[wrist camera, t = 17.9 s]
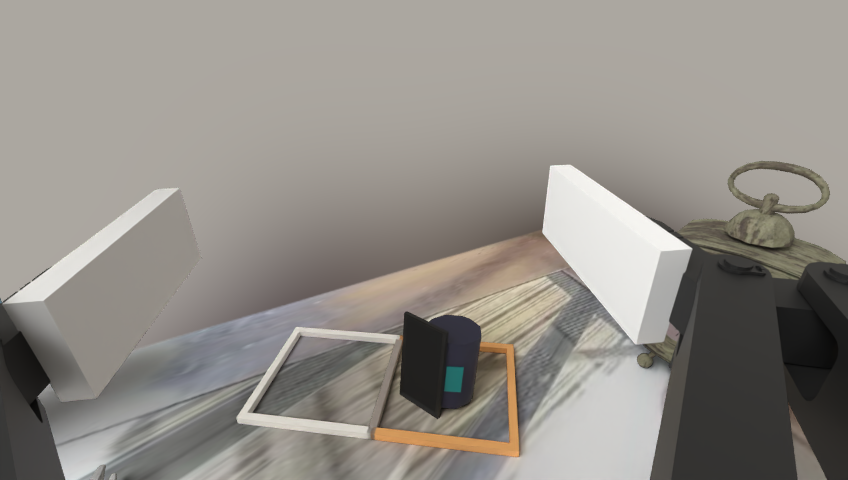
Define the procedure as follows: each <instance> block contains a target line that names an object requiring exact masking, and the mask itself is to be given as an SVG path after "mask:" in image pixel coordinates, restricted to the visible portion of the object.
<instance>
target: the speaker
mask: <svg viewBox="0 0 848 480" xmlns="http://www.w3.org/2000/svg"><path fill="white" fill-rule="evenodd" d="M480 343H481V329H480V326H479V325H477V324H476V323H475V322H473V321H472V320H471V319H469V318H466V317H463V316H454V315H444V316H440V317H437V318H433V319H432V320H431V321H429V322H428V321H426V320H424V319H422V318H420V317H418V316H416V315H413V314H411V313H409V312H405V313H404V329H403V346H402V363H401V380H400V395H402V396H403V397H405V398H406V399H408V400H409V401H411V402H412V403H414V404H416V405H417V406H419V407H420V408H422V409H423V410H425V411H426V412H428V413H429V414H431V415H432V416H434V417H436V418H437V419H438V418H439V417H440V412H441V408H451V409H457V408H459V407H461V406H463V405H466V404H468V403H469V402H470V401H471V399H472V397H473V391H474V384H475V377H476V370H477V363H478V356H479V350H480Z"/></svg>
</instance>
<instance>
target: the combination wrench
mask: <svg viewBox="0 0 848 480" xmlns="http://www.w3.org/2000/svg"><path fill="white" fill-rule="evenodd" d="M105 468H106V465H100V466H99V467H98V468H97V470H96V471H95V472H94V474H93V475H92V477H91V479H90V480H104V474H105ZM109 480H117V474H116V473H113V474H111V476H110V478H109Z"/></svg>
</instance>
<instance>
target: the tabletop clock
mask: <svg viewBox="0 0 848 480" xmlns="http://www.w3.org/2000/svg"><path fill="white" fill-rule="evenodd" d="M753 169H774V170H780V171H785V172H791V173H794V174H798V175H801V176H804V177H806V178H808V179H809V180H811V181H813V182H814V183H815V184H816V185H817V186H818V187H819V188H820V190H821V193H822V198H821V199H820V201H818V202H817V203H816V204H811V205H806V206H787V205H781V204H777V203H778V200H779V197H778V196H777V195H776V194H772V193H771V194H767V195H766V196H764V199H763V201H762V200H758V199H754V198H752V197H750V196H747V195H745V194H743V193H741V192H740V191H739V190H738V189H737V188H735V186H734V180H735V178H736V177H737V176H738V175H739V174H741V173H743V172H746V171H748V170H753ZM728 186H729V190H730V191H731V192H732V193H733V195H734V196H735V197H736V198H738V199H740V200H741V201H743V202H745V203H746V204H748V205H751V206H754V207H757V208H760V209H754V210H745V211H743V212H740V213H738V214H737V215H736V216H734V217H733V218H732V219H731V220H730V221H729V222H728V221H722V220H716V219H701V220H700V219H699V220H692V221H691V222H690V223H688V224H687V225H686V226H684V227H683V228H682V229H681V230H679V231H678V232H677V233H679V234H680V235H682V236H683V238H686V239H688V240H689V241H691V242H692V243H694V244H695V245H697V246H698V247H700V248H701V249H703V250H704V251H706V252H707V253H709V254H710V255H714V254H727V255H734V256H739V257H743V258H746V259H750V260H752V261H754V262H756V263H759V264H761V265H762V266H764V267H765V268H767V269H768V270H769V271H770V273H771V275H772V277H773V278H784V279H795V280H800V278H801V275H802V273H803V271H804V269H805V267H806V266H807V265H808V264H809V263H813V262H831V263H836V264H839V263H843V264H846V261H844V260H843V259H841V258H840V257H838V256H836V255H835V254H833V253H832V252H830V251H828V250H826V249H823V248H822V247H819V246H817V245H814V244H811V243H808V242H805V241H802V240H799V239H796V238H794V230H793V227H792V225H791V224H790V222H789V221H788V220H787V219H786V218H784V217H783V216H782V215H780V214H778V213H775V212H780V213H806V212H809V211H812V210H815V209H818V208H820V207H821V206H823V205H824V204H825V203H826V202H827V201H828V199H829V195H830V191H829V187H828V184H827V183H826V182H825V181H824V180H823V178H822V177H821V176H820V175H818V174H816V173H815V172H813V171H811V170H810V169H807V168H804V167H801V166H797V165H794V164H788V163H782V162H771V161H770V162H769V161H759V162H754V163H749V164H746V165H744V166H742V167H740V168H738V169H736V170H735V171H734V172H733V173H732V174H731V175H730V177H729V179H728ZM679 334H680V332H679V331H678V330H677V329H676V328H675V327H674V326H673V325H672V324H671V323H669V326H668V330H667V333H666V336H665V339H664V342H658V343H648V344H643V345H644V346H645V347H646V348H647V349H648V350H650V351H651V352H650V353H649V354H647V353H642V354H640V355H638V357H637V362H638V364H639V365H640V366H642V367H645V368H647V367H650V366H651V365H652V364H653V359H652V358H653V357H654V356H656V355H657V356H658V357H660V358H662V359H663V360H665V361H667V362H669V363H670V362H671V359H672V356H673V353H674V350H675V347H676V344H677V341H678V337H679Z"/></svg>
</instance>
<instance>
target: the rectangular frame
mask: <svg viewBox="0 0 848 480" xmlns="http://www.w3.org/2000/svg"><path fill="white" fill-rule="evenodd" d="M300 336H307V337H318V338H330V339H342V340H354V341H365V342H377V343H389V344H394V348H393V351H392V354H391V357H390V360H389V364H388V367H387V370H386V373H385V376H384V379H383V383H382V386H381V389H380V392H379V395H378V398H377V402H376V405H375V408H374V411H373V414H372V418H371V421H370V424H369V426H360V425H351V424H343V423H334V422H325V421H317V420H308V419H300V418H291V417H282V416H274V415H265V414H256V413H252V412H253V411H254V409H255V408H256V406H257V404H258V403H259V401H260V400H261V398H262V396H263V395H264V393H265V392H266V390H267V389H268V387H269V385H270V384H271V382H272V381H273V379H274V377H275V376H276V374H277V373H278V371H279V369H280V368H281V366H282V365H283V363H284V361H285V360H286V358H287V357H288V355H289V353H290V352H291V350H292V349H293V347H294V345H295V344H296V342H297V341H298V339H299V337H300ZM402 345H403V336H402V335H390V334H378V333H365V332H353V331H341V330H329V329H316V328H304V327H296V328H295V329H294V331H293V332H292V334H291V336H290V337H289V339H288V340H287V342H286V343H285V345H284V346H283V348H282V349H281V351H280V352H279V354H278V355H277V357H276V358H275V360H274V361H273V363H272V364H271V366H270V367H269V369H268V370H267V372H266V373H265V375H264V377H263V378H262V380H261V381H260V383H259V384H258V386H257V387H256V389H255V390H254V392H253V393H252V395H251V396H250V398H249V399H248V401H247V402H246V404H245V405H244V407H243V408H242V410H241V411H240V413H239V414H238V416H237V418H236V419H237V422H238V423H239V424H247V425H255V426H264V427H272V428H280V429H289V430H297V431H305V432H314V433H322V434H330V435H339V436H347V437H355V438H363V439H372V440H380V441H388V442H397V443H405V444H413V445H422V446H430V447H438V448H446V449H455V450H463V451H471V452H480V453H488V454H496V455H505V456H513V457H519V438H518V420H517V403H516V385H515V368H514V350H513V345H512V344H500V343H488V342H481V343H480V350H479V351H483V352H495V353H506V358H507V387H508V417H509V443H507V442H498V441H490V440H481V439H472V438H464V437H455V436H446V435H438V434H429V433H420V432H412V431H403V430H395V429H386V428H379V425H380V421H381V418H382V414H383V411H384V407H385V404H386V400H387V397H388V394H389V390H390V387H391V383H392V380H393V376H394V373H395V369H396V366H397V362H398V359H399V355H400V352H401V349H402Z"/></svg>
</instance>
